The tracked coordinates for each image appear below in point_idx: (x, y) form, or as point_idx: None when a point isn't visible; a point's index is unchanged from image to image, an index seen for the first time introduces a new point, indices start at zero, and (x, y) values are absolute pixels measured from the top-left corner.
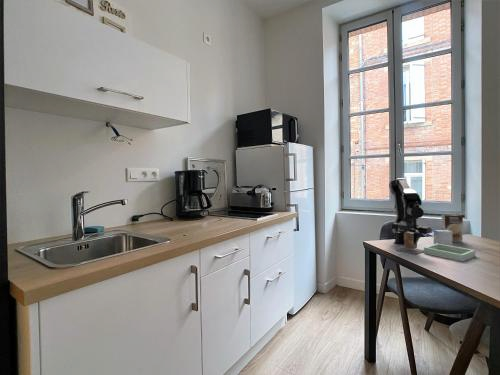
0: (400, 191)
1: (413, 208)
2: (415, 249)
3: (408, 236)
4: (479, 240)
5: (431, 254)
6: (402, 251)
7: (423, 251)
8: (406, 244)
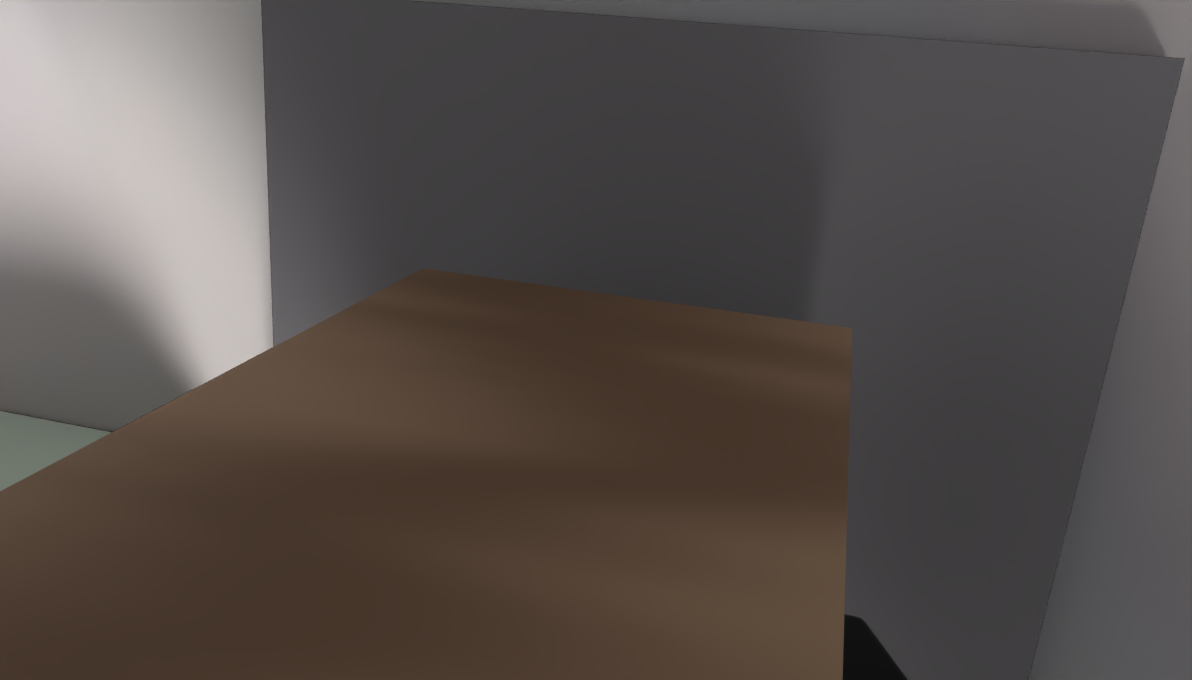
0: None
1: None
2: None
3: (263, 667)
4: None
5: (26, 420)
6: (834, 36)
7: None
8: (691, 363)
